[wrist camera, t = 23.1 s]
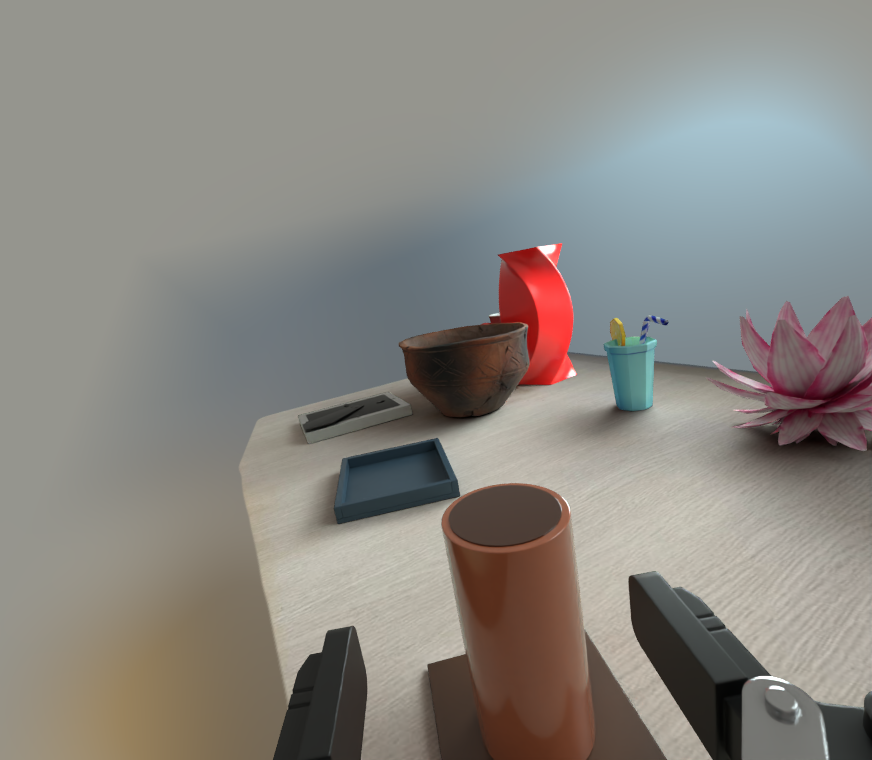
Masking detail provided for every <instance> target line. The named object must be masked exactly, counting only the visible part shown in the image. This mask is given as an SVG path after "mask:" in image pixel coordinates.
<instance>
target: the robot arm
mask: <svg viewBox="0 0 872 760" xmlns="http://www.w3.org/2000/svg"><path fill="white" fill-rule="evenodd" d="M629 595H630V609H631V621H632V626H633V629H634V633H635V635H636V638H637V640H638V642H639V644H640V646H641V647H642V649H643V650H644V652H645V654H646V655H647V657H648V658H649V660H650V661H651V663H652V665H653V666H654V668H655V669H656V671H657V672H658V674H659V676H660V677H661V679H662V680H663V682H664V684H665V685H666V687H667V688H668V690H669V691H670V693H671V695H672V696H673V698H674V699H675V701H676V702H677V704H678V706H679V707H680V709H681V710H682V712H683V714H684V715H685V717H686V718H687V720H688V721H689V723H690V725H691V726H692V728H693V729H694V731H695V732H696V734H697V736H698V737H699V739H700V740H701V742H702V743H703V745H704V747H705V748H706V750H707V751H708V753H709V755H710V756H711V758H712V759H713V760H872V691H871V692H869V693H868V694H867V695H866V697H865V700H864V708H862V707H853V706H844V705H836V704H827V703H821V702H817V701H814V700H813V699H812V698H811V697H810V696H809V695H808V694H807V693H805V692H804V691H803V690H801V689H800V688H798V687H797V686H795V685H793V684H791V683H789V682H787V681H784V680H781V679H778V678H774V677H772V676H771V675H770V674H769V673H768V672H767V671H766V670H765V668H764V667H763V666H762V665H761V664H760V663H759V662H758V661H757V660H756V659H755V658H754V656H753V655H752V654H751V653H750V652H749V651H748V650H747V649H746V648H745V647H744V646H743V644H742V643H741V642H740V641H739V640H738V639H737V638H736V637H735V636H734V635H733V634H732V632H731V631H730V630H729V629H726V627H725V625H724V624H723V623H722V622H721V620H720V619H719V618H718V617H717V616H715V615H714V613H713V612H712V611H711V610H710V608H709V607H708V606H707V605H706V604H705V603H704V602H703V601H702V600H701V599H700V598H699V597H697V596H696V595H694V594H692V593H691V592H689V591H687V590H686V589H684V588H683V587H677V588H671V587H670V585H669V584H668V583H667V582H666V581H665V580H664V578H663V577H662V576H661V575H660V574H659V573H658V572H656V571H653V572H647V573H642V574H637V575H631V576H630V577H629ZM366 701H367V675H366V669H365V665H364V661H363V656H362V652H361V648H360V644H359V640H358V636H357V632H356V629H355V627H354V626H350V627H344V628H339V629H334V630H329V631H327V633H326V637H325V641H324V646H323V650H322V652H321V653H316V654H311V655H309V657H308V658H307V660H306V661H305V662H304V664H303V665H302V667H301V668H300V670H299V671H298V673H297V677H296V681H295V684H294V688H293V694H292V695H291V698H290V702H289V705H288V710H287V712H286V716H285V720H284V723H283V726H282V730H281V734H280V737H279V740H278V744H277V747H276V751H275V755H274V758H273V760H361V750H362V740H363V730H364V720H365V711H366Z"/></svg>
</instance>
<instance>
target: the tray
mask: <svg viewBox="0 0 872 760" xmlns="http://www.w3.org/2000/svg"><path fill="white" fill-rule="evenodd" d="M458 496H460V492H459V486H458V480H457V478H456V476H455V474H454V472H453V469H452V467H451V465H450V463H449V461H448V459H447V456H446V454H445V452H444V450H443V448H442V445H441V443H440V441H439V439H438V438H435V439H431V440H426V441H421V442H417V443H412V444H407V445H403V446H398V447H393V448H389V449H384V450H379V451H375V452H370V453H365V454H361V455H356V456H351V457H348V458H343V459H342V464H341V470H340V476H339V482H338V488H337V493H336V499H335V505H334V511H335V515H336V519H337V523H338V524H340V523H345V522H349V521H353V520H358V519H362V518H367V517H371V516H375V515H380V514H384V513H388V512H393V511H397V510H401V509H406V508H410V507H414V506H419V505H423V504H427V503H432V502H436V501H441V500H445V499H449V498H454V497H458Z"/></svg>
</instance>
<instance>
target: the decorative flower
mask: <svg viewBox="0 0 872 760" xmlns="http://www.w3.org/2000/svg"><path fill="white" fill-rule="evenodd" d="M740 327H741V337H742V345H743V347H744V349H745V351H746V353H747V355H748V357H749V359H750V361H751V363H752V365H753V367H754V369H755V370H756V371H757V372H758V373H759V374H760V375H761V376H762V377H763V378H764V379H765V380H766V381H767V382H769V383H770V384H771V386H772V387H770V386H767V385H765V384H762V383H759V382H757V381H754V380H752V379H749V378H746V377H744V376H741V375H739V374H736V373H734V372H732V371H731V370H729V369H727V368H725V367H724V366H722V365H720V364H719V363H717V362H715V361H713V362H714V363H715V364H716V366H717V367H718V368H719V369H720V371H722V372H723V373H725V374H726V375H727V376H729V377H730V378H732V379H733V380H734V381H736V382H737V383H740V384H742V385H745V386H747V387H750V388H752V389H755V390H757V391H759V392H762V393H766V394H761V393H757V392H752V391H747V390H742V389H737V388H735V387H732V386H729V385H727V384H724V383H721V382H719V381H716V380H713V379H711V378H708V377H706V378H707V379H708V380H709V381H711V382H712V383H713V384H715V385H716V386H717V387H719V388H720V389H722V390H724V391H727V392H730V393H732V394H735V395H737V396H740V397H743V398H748V399H753V400H758V401H763V402H765V405H766V406H768V408H764V409H759V410H735V411H738V412H742V413H746V414H749V413H764V412H769V411H772V412H771V413H769V414H767V415H764V416H762V417H760V418H758V419H755V420H753V421H751V422H748V423H745V424H741V425H737V426H733V427H730V428H750V427H756V426H763V425H766V424H768V423H771V422H773V421H776V420H779V419H780V420H779V421H777V422H775V423H774V424H772V425H775V424H779V423H781V422H782V423H781V424H780V425H779V427H778V428H777V429H776V430H775V431H774V432H773V433H772V434H774V433H777V432H779V438H778V443H779V446H780V445H785V444H789V443H791V442H794V441H795V442H796V444H797V443H799V442H800V441H802V440H803V439H805V438H806V437H808V436H809V435H810V433H811V432H812V431H813V430H815V429H817V430H818V431H819V432H820V433H821V434H822V435H823V436H824V437H825V439H826V440H827V441H828V442H829V443H830V444H832V445H834V446H836V445H837V442H840V443H842V444H844V445H846V446H848V447H850V448H854V449H857V450H861V451H865V450H867V440H866V436H865V432H864V429H865V430H869V431H872V318H871V319H870V320H869V321H867V322H866V323H865V324H864V325H863V326H861V324H860V322H859V320H858V319H857V317H856V315H855V312H854V310H853V307H852V304H851V302H850V299H849V297H848V296H847V297H843V298H841V299H840V300H839V301H838V302H837V303H836V304H835V305H834V306H833V307H832V308H831V309H830V310H829V311H828V312H827V313H826V315H825V316H824V317H823V318H822V319H821V320H820V322H819V323H818V324H817V325H816V326H815V328H814V329H813V330H812V331H811V333H810V334H809V335H808V337H806V335H805V333H804V331H803V329H802V327H801V325H800V323H799V321H798V319H797V316H796V314H795V312H794V310H793V308H792V306H791V304H790V302H788V301H786V302H785V304H784V306H783V307H782V309H781V311H780V313H779V315H778V318H777V322H776V325H775V328H774V331H773V334H772V340H771V345H770V346H769V345H768V344H767V343H766V342H765V341H764V340H763V339H762V338H761V337H760V336H759V335H758V333H757V332H756V330H755V328H754V326H753V324H752V322H751V319H750V316H749V313H748V310H746V319H745V318H744V317H740Z"/></svg>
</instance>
